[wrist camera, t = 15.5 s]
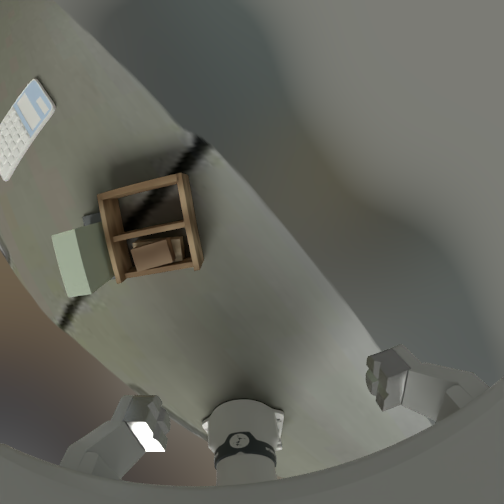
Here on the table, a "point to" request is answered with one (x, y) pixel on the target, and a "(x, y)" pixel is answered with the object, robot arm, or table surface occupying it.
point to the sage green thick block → (83, 259)
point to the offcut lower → (176, 244)
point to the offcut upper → (153, 254)
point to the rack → (118, 236)
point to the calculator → (23, 125)
